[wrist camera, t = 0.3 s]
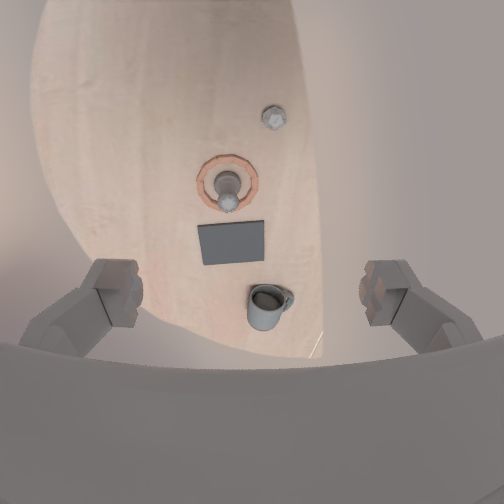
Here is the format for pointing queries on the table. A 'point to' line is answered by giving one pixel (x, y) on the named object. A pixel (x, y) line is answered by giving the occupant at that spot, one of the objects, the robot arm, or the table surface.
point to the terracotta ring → (227, 159)
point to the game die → (274, 118)
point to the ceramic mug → (267, 306)
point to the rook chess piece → (227, 191)
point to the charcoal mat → (232, 242)
